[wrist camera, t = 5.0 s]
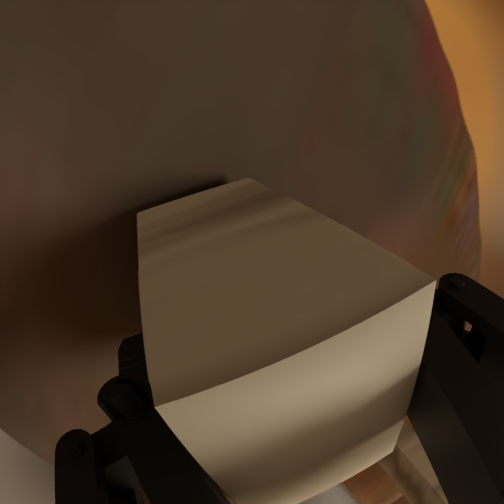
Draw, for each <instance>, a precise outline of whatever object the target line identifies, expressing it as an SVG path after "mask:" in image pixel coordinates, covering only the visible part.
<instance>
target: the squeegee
mask: <svg viewBox="0 0 504 504" xmlns="http://www.w3.org/2000/svg"><path fill="white" fill-rule="evenodd" d="M137 238H138V263H139V281H140V295H141V307H142V318H143V328H144V337H145V346H146V354H147V361H148V369H149V376H150V382H151V389H152V395H153V401H154V407H155V408H156V410H157V411H158V413H159V414H160V415H161V417H162V418H163V419H164V421H165V422H166V423H167V425H168V426H169V427H170V429H171V430H172V431H173V432H174V434H175V435H176V436H177V438H178V439H179V440H180V441H181V443H182V444H183V445H184V446H185V447H186V449H187V450H188V451H189V452H190V454H191V455H192V456H193V457H194V458H195V459H196V461H197V462H198V463H199V464H200V465H201V466H202V468H203V469H204V470H205V471H206V472H207V473H208V474H209V475H210V477H211V478H212V479H213V480H214V481H215V482H216V483H217V484H218V485H219V486H220V487H221V488H222V490H223V491H224V492H225V493H226V494H227V495H228V496H229V497H230V498H231V499H232V500H233V501H234V502H235V503H236V504H297V503H300V502H302V501H304V500H306V499H308V498H311V497H313V496H315V495H317V494H319V493H321V492H323V491H325V490H327V489H329V488H331V487H333V486H335V485H337V484H339V483H341V482H343V481H345V480H346V479H348V478H350V477H352V476H354V475H355V474H357V473H359V472H361V471H362V470H364V469H366V468H367V467H369V466H371V465H372V464H374V463H376V462H377V461H379V460H380V459H382V458H384V457H385V456H387V455H388V454H390V453H391V452H393V450H394V447H395V444H396V442H397V439H398V436H399V434H400V431H401V428H402V425H403V422H404V419H405V416H406V413H407V410H408V407H409V403H410V400H411V397H412V393H413V390H414V386H415V383H416V379H417V375H418V372H419V368H420V364H421V360H422V355H423V351H424V347H425V342H426V337H427V332H428V327H429V322H430V317H431V311H432V305H433V299H434V293H435V286H436V279H434V278H432V277H431V276H429V275H428V274H426V273H424V272H423V271H421V270H419V269H418V268H416V267H414V266H413V265H411V264H409V263H408V262H406V261H404V260H403V259H401V258H399V257H398V256H396V255H394V254H392V253H391V252H389V251H387V250H385V249H384V248H382V247H380V246H379V245H377V244H375V243H373V242H371V241H370V240H368V239H366V238H364V237H363V236H361V235H359V234H357V233H355V232H354V231H352V230H350V229H348V228H346V227H344V226H343V225H341V224H339V223H337V222H335V221H333V220H332V219H330V218H328V217H326V216H324V215H322V214H320V213H318V212H316V211H315V210H313V209H311V208H309V207H307V206H305V205H303V204H301V203H299V202H297V201H295V200H293V199H291V198H289V197H287V196H285V195H283V194H281V193H279V192H277V191H275V190H273V189H271V188H269V187H267V186H265V185H263V184H261V183H259V182H257V181H255V180H253V179H251V178H245V179H242V180H238V181H235V182H231V183H228V184H225V185H221V186H218V187H215V188H211V189H208V190H205V191H202V192H199V193H195V194H192V195H189V196H186V197H183V198H180V199H177V200H174V201H171V202H168V203H165V204H162V205H159V206H156V207H153V208H150V209H147V210H144V211H141V212H138V213H137Z"/></svg>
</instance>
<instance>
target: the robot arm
mask: <svg viewBox="0 0 504 504" xmlns="http://www.w3.org/2000/svg"><path fill="white" fill-rule="evenodd" d="M138 282H139V297H140V309H141V321H142V331H143V333H140V334H137V335H134V336H131V337H128V338H125V339H123V341H122V343H121V345H120V347H119V349H118V360H119V376H116V377H113V378H112V379H110V380H109V381H108V382H106V383H105V384H104V385H103V387H102V388H101V389H100V391H99V394H98V397H97V400H98V405H99V406H100V408H101V409H102V410H103V411H104V412H105V413H106V415H107V416H108V417H109V418H110V419H111V420H112V422H111V423H109V424H108V425H107V426H105V427H104V428H102V429H100V430H98V431H97V432H95V433H93V434H92V435H90V434H89V433H88V432H87V431H84V430H82V429H73V430H71V431H69V432H66V433H65V434H64V435H63V436H62V437H61V438H60V440H59V441H58V443H57V445H56V450H55V500H56V501H55V504H144V503H143V499H142V494H141V489H140V485H141V486H142V488H143V490H144V492H145V494H146V495H147V497H148V499H149V501H150V503H151V504H230V502H229V501H228V500H227V499H226V497H225V496H224V495H223V494H222V492H221V491H220V490H219V488H218V487H217V486H216V484H215V483H214V482H213V480H212V479H211V478H210V476H209V475H208V474H207V472H206V471H205V470H204V469H203V468H202V466H201V465H200V464H199V463H198V462H197V461H196V459H195V458H194V457H193V456H192V455H191V454H190V452H189V451H188V450H187V449H186V447H185V446H184V445H183V444H182V443H181V441H180V440H179V439H178V438H177V436H176V435H175V434H174V432H173V431H172V430H171V429H170V427H169V426H168V425H167V423H166V422H165V421H164V419H163V418H162V417H161V415H160V414H159V413H158V411H157V410H156V408H155V407H154V401H153V395H152V389H151V382H150V376H149V369H148V361H147V354H146V346H145V337H144V328H143V318H142V307H141V295H140V281H139V271H138ZM466 321H467V322H468V323H470V324H471V325H472V329H471V331H470V332H468V331H466V330H465V329H464V328H465V325H466ZM406 414H407V416H408V418H409V420H410V422H411V424H412V426H413V428H414V430H415V432H416V434H417V436H418V438H419V440H420V442H421V444H422V446H423V448H424V451H425V453H426V455H427V457H428V459H429V461H430V463H431V465H432V468H433V470H434V472H435V474H436V476H437V479H438V481H439V483H440V485H441V487H442V490H443V492H444V494H445V497H446V499H447V501H448V504H504V299H503V298H501V297H500V296H498V295H497V294H495V293H493V292H492V291H490V290H489V289H487V288H485V287H484V286H482V285H481V284H479V283H477V282H476V281H474V280H473V279H471V278H469V277H467V276H465V275H463V274H459V273H448V274H446V275H443V276H442V277H441V278H440V280H439V285H438V289H436V290H435V293H434V299H433V305H432V311H431V317H430V322H429V327H428V332H427V337H426V342H425V347H424V351H423V355H422V360H421V364H420V368H419V372H418V375H417V379H416V383H415V386H414V390H413V393H412V397H411V400H410V403H409V407H408V410H407V413H406Z"/></svg>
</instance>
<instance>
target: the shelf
mask: <svg viewBox="0 0 504 504" xmlns="http://www.w3.org/2000/svg"><path fill="white" fill-rule="evenodd" d="M377 462H378V463H379V464H380V466H381V467H382V468H383V470H384V471H385V472H386V473H387V475H388V476H389V477H390V478H391V480H392V481H393V482H394V484H395V485H396V486H397V487H398V489H399V490H400V491H401V492H402V494H403V495H404V496H405V497H406V498H407V500H408V501H409V502H410V504H448V501H447V499H446V497H445V494H444V492H443V490H442V487H441V485H440V483H439V481H438V479H437V476H436V474H435V472H434V470H433V468H432V465H431V463H430V461H429V459H428V457H427V455H426V453H425V451H424V448H423V446H422V444H421V442H420V440H419V438H418V436H417V435H416V434H415V433H414V432H413V430H412V429H411V428H410V427H409V426H408V425H407V424H406V423H405V422H403V425H402V428H401V431H400V434H399V436H398V439H397V442H396V444H395V447H394V450H393V452H391V453H390V454H388V455H387V456H385V457H384V458H382V459H380V460H379V461H377Z"/></svg>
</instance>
